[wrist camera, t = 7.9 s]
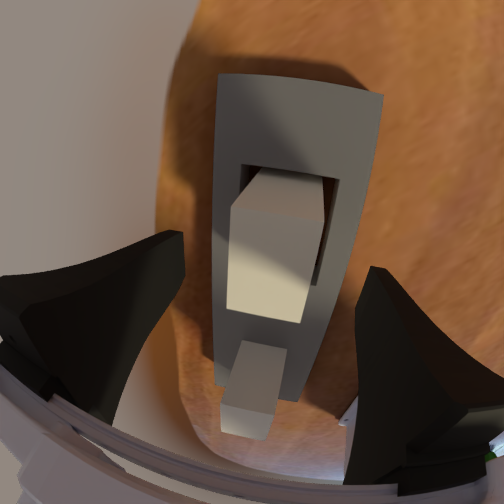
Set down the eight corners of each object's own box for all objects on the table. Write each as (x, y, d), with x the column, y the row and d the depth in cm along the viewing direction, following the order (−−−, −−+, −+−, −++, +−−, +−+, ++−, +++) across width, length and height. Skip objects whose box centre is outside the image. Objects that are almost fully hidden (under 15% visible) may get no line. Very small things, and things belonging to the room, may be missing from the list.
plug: (308, 249, 16) (299, 323, 11) (256, 239, 16) (226, 308, 11) (322, 174, 14) (324, 221, 9) (263, 165, 14) (231, 206, 9)
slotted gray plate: (300, 383, 22) (288, 455, 17) (221, 367, 23) (195, 434, 18) (374, 95, 11) (427, 91, 5) (231, 76, 12) (159, 62, 6)
